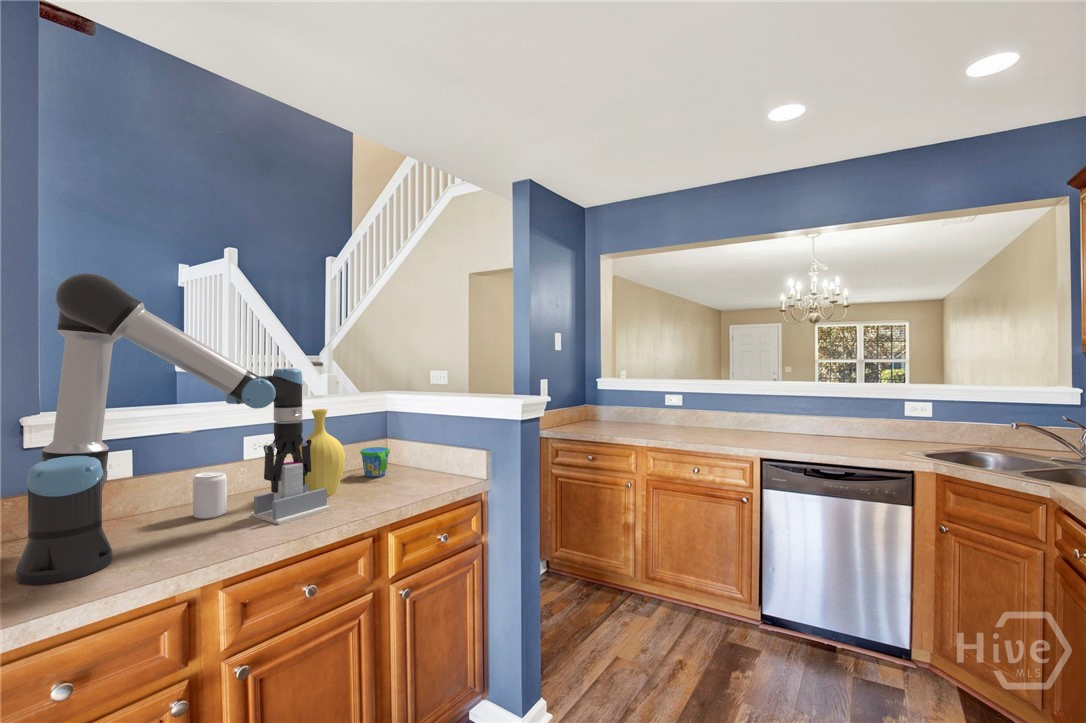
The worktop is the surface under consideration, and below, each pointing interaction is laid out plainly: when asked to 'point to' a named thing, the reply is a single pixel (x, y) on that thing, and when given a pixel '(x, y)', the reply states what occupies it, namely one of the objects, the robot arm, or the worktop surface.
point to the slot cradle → (290, 506)
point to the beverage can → (209, 494)
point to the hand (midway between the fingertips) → (288, 500)
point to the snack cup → (375, 461)
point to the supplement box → (291, 479)
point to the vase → (324, 457)
